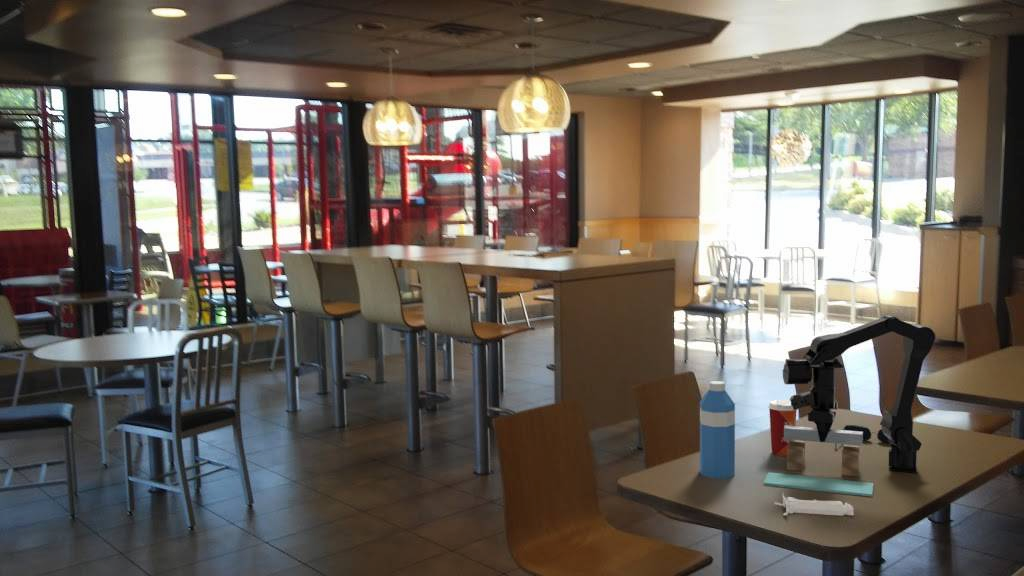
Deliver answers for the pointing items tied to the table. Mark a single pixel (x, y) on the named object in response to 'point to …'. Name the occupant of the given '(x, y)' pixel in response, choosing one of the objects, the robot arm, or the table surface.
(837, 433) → the rail
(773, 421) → the coffee cup
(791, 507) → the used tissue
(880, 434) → the sunglasses
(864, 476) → the table surface
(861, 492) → the mat
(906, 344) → the robot arm
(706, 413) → the water bottle
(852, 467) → the stand
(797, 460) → the stand
